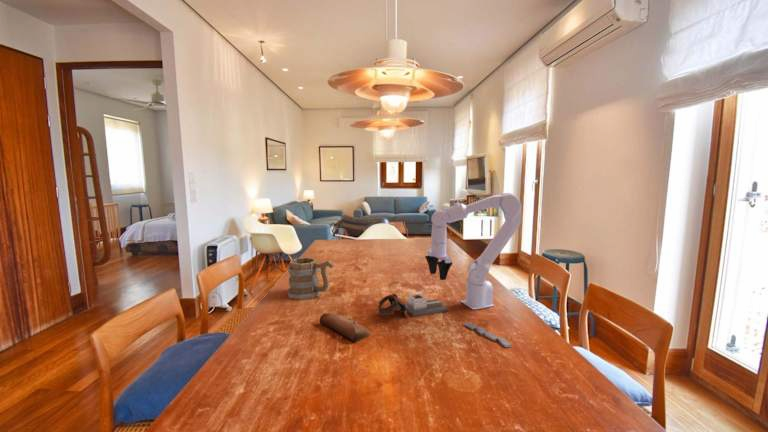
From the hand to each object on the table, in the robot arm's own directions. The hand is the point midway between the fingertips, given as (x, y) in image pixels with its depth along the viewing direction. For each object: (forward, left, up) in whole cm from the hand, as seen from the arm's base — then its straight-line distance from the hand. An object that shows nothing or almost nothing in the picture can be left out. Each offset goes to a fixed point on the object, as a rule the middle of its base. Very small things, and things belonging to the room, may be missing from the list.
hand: (437, 276), depth 127 cm
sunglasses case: (+39, +10, -11) cm, 42 cm away
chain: (-1, +29, -10) cm, 31 cm away
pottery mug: (+21, +5, -10) cm, 24 cm away
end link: (+11, +5, -9) cm, 15 cm away
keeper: (+8, +5, -10) cm, 14 cm away
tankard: (+45, -23, -10) cm, 52 cm away
